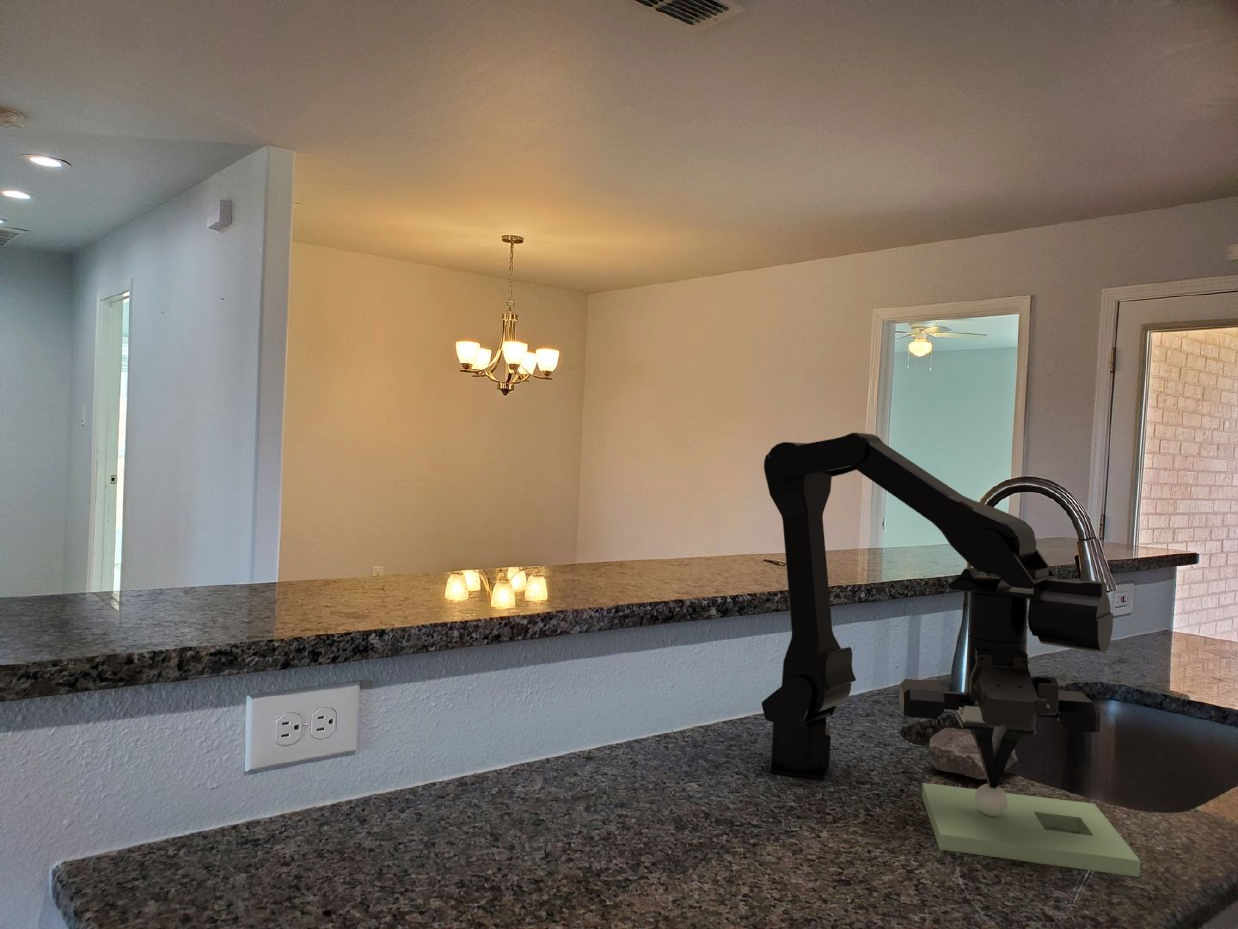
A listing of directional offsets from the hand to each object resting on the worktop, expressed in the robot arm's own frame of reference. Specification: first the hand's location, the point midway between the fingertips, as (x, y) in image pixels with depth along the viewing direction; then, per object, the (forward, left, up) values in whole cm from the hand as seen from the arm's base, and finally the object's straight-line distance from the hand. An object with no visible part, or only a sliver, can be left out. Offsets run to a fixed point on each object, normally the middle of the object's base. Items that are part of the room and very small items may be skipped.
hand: (992, 787), depth 94 cm
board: (+3, 0, -5) cm, 6 cm away
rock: (+4, +20, -6) cm, 21 cm away
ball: (0, 0, -2) cm, 2 cm away
